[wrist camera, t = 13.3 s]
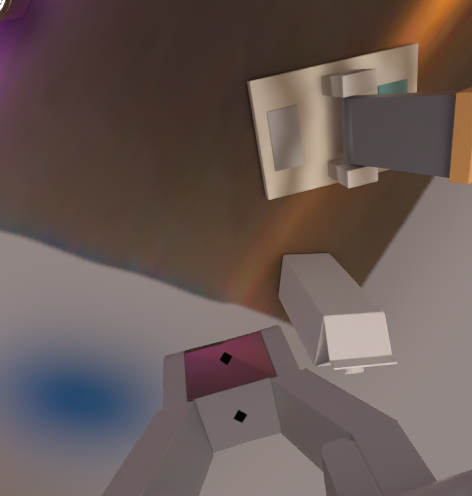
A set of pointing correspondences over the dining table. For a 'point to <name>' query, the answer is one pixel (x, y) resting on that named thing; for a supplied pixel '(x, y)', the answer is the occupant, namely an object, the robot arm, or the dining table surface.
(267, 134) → the switch base
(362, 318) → the milk carton
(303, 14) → the dining table surface
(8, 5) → the cup with straw
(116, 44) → the dining table surface
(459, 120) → the rocker lever
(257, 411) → the robot arm
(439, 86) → the dining table surface
